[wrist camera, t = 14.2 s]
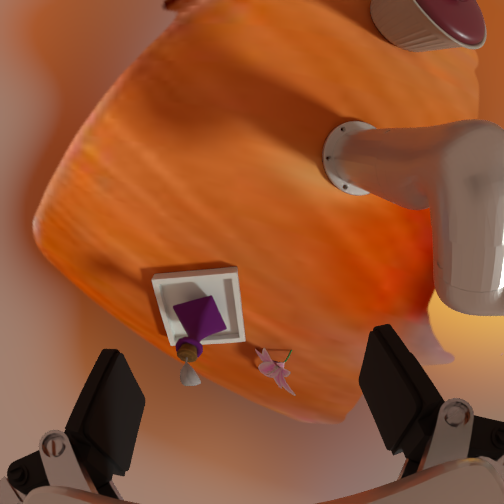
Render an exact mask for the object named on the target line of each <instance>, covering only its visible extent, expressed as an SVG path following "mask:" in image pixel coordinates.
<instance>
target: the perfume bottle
mask: <svg viewBox="0 0 504 504" xmlns="http://www.w3.org/2000/svg"><path fill="white" fill-rule="evenodd" d="M173 309H174V311H175V313H176V315H177V317H178V319H179V321H180V322H181V324H182V326H183V328H184V330H185V331H186V333H187V335H188V337H183V338H180V339H179V340H178V341H177V343H176V351H177V356H178V357H179V358H180V359H181V360H183V361H185V365H184V366H183V368H182V369H181V372H180V380H181V382H182V384H183V385H185V386H193V385H194V386H195V385H198V384H200V383H201V381H200V379H199V377H198V376H197V374H196V372H195V371H194V369H193V368H192V367H191V366H190V365H189V364H188V363H187V362H194V361H196V360H197V357H199V356H200V355H201V353H202V352H203V349H202V344H201V343H200V341H201V340H202V339H204V338H206V337H208V336H210V335H212V334H215V333H218V332H221V331H223V330H226V329H227V327H226V325H225V323H224V321H223V318H222V316H221V314H220V312H219V310H218V307H217V305H216V303H215V301H214V298H213V296H212V295H210V296H206V297H202V298H199V299H195V300H192V301H188V302H184V303H181V304H177V305H174V306H173Z"/></svg>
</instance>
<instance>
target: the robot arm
mask: <svg viewBox="0 0 504 504" xmlns="http://www.w3.org/2000/svg"><path fill="white" fill-rule="evenodd" d="M341 128H342V131H341ZM326 157H328V159H326ZM322 161H323V166H324V169H325V172H326V174H327V176H328V178H329V180H330V181H331V182H332V183H333V184H334V185H335V186H336V187H337V188H338V189H340V190H342V191H343V192H346V193H348V194H351V195H366V194H369V193H372V194H374V195H377V196H379V197H381V198H383V199H386V200H388V201H390V202H392V203H395V204H397V205H399V206H402V207H404V208H407V209H411V210H421V209H426V208H429V207H430V215H431V226H432V237H433V273H434V285H435V289H436V292H437V294H438V296H439V298H440V299H441V300H442V302H443V303H444V304H446V305H447V306H448V307H450V308H451V309H453V310H455V311H458V312H461V313H464V314H469V315H478V316H504V130H503V129H502V128H501V127H500V126H498V125H497V124H495V123H492V122H490V121H486V120H477V119H471V120H461V121H456V122H452V123H447V124H442V125H437V126H431V127H418V128H388V129H376V128H375V127H374V126H372V125H370V124H368V123H365V122H361V121H350V122H345V123H343V124H340V125H339V126H337V127H336V128H334V129H333V130H332V131H331V132H330V134H329V135H328V137H327V138H326V141H325V143H324V146H323V152H322ZM343 185H344V188H343ZM359 385H360V388H361V390H362V392H363V394H364V397H365V399H366V401H367V403H368V406H369V408H370V410H371V413H372V415H373V417H374V419H375V422H376V424H377V427H378V429H379V432H380V434H381V437H382V439H383V441H384V444H385V446H386V448H387V450H391V451H392V454H393V455H396V454H398V453H401V452H403V453H404V455H405V457H406V460H405V463H404V465H403V467H402V470H401V472H400V474H399V477H398V479H397V481H394V482H392V483H389V484H386V485H383V486H380V487H377V488H374V489H371V490H368V491H364V492H361V493H358V494H355V495H351V496H347V497H343V498H339V499H335V500H331V501H327V502H322V503H317V504H504V422H501V421H496V420H492V419H487V418H483V417H479V416H475V415H474V412H473V409H472V407H471V406H470V404H469V403H468V402H466V401H465V400H462V399H460V398H453V399H449V400H447V401H446V402H445V401H444V400H443V398H442V397H441V395H440V394H439V392H438V391H437V389H436V387H435V386H434V384H433V383H432V381H431V380H430V378H429V377H428V375H427V374H426V373H425V371H424V370H423V368H422V366H421V365H420V364H419V362H418V361H417V359H416V358H415V356H414V355H413V354H412V353H410V352H409V350H408V349H407V347H406V346H405V344H404V343H403V342H402V340H401V339H400V337H399V336H398V335H397V333H396V332H395V331H394V329H393V328H392V327H391V325H390V324H385V325H381V326H376V327H374V329H373V331H371V332H370V334H369V338H368V343H367V347H366V351H365V356H364V360H363V364H362V368H361V372H360V376H359ZM144 406H145V397H144V395H143V393H142V391H141V389H140V387H139V385H138V383H137V382H136V380H135V378H134V376H133V374H132V372H131V370H130V368H129V365H128V363H127V361H126V359H125V357H124V355H123V354H122V353H120V352H119V351H118V350H117V349H103V350H102V352H101V354H100V355H99V357H98V359H97V361H96V363H95V365H94V367H93V369H92V371H91V373H90V375H89V377H88V379H87V381H86V383H85V385H84V387H83V389H82V392H81V394H80V396H79V398H78V400H77V402H76V405H75V406H74V409H73V411H72V413H71V416H70V418H69V420H68V422H67V425H66V427H65V429H66V430H65V432H61V431H59V430H51V431H49V432H47V433H45V434H44V436H43V437H42V438H41V440H40V443H39V450H38V451H36V452H34V453H32V454H30V455H28V456H25V457H23V458H21V459H19V460H16V461H15V462H13V463H11V465H10V466H9V468H8V471H7V476H8V478H6V477H3V478H2V479H1V480H0V504H138V503H133V502H128V501H124V499H123V498H122V497H121V495H120V493H119V491H118V490H117V488H116V486H115V485H114V483H113V481H112V476H113V474H115V475H120V476H125V471H128V470H129V467H130V463H131V459H132V455H133V450H134V446H135V442H136V438H137V433H138V429H139V425H140V422H141V418H142V414H143V410H144Z"/></svg>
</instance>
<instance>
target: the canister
mask: <svg viewBox="0 0 504 504" xmlns="http://www.w3.org/2000/svg"><path fill="white" fill-rule="evenodd" d="M370 13H371V17H372V19H373V22H374V23H375V26H376V27H377V28H378V30H379V31H380V32H381V34H382V35H383V36H384V37H385V38H386V39H388V40H389V41H390V42H391V43H393V44H394V45H396V46H398V47H399V48H402V49H404V50H408V51H413V52H424V51H432V50H440V49H447V48H456V47H465V48H468V49H478V48H480V47H482V46H483V45H484V43H485V40H486V26H485V22H484V18H483V15H482V12H481V10H480V8H479V6H478V4H477V2H476V0H372V1H371V6H370Z"/></svg>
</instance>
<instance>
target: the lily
mask: <svg viewBox="0 0 504 504" xmlns="http://www.w3.org/2000/svg"><path fill="white" fill-rule="evenodd" d="M255 351H256V353H257V354H258V356H259V357H260V359H261V360H262V361H263V363H261V364H260V365H259V367H258V369H259V371H260V372H261V373H263V374H264V375H266V376H268V377H271V378H274V380H275V382H276V383H277V384H278V386H279V387H280V388H282V386H283V387H284V388H285V389H286V390H287V391H288V392H289V393H291V394H293V395H294V396H296V395H295V394H294V392H293V391H292V390H291V388H290V387H289V386H288V384H287V382H286V380H285V378H284V376H285V377H287V376H289V375H290V373H291V372H290V371H288V370H286V369H284V363H285V362H286V361H287V359H288V358H289V356H290V354H291V352H292V350H291V351H290V353H289V355H288V357H287V358H286V360H285V361H284V362H283V363H281V362H277V361H273V360H271V358H270V356H269V354H268V353H267V351H266V349H265V348H263V351H262V354H261V353H260V352H258V351H257V350H256V349H255ZM283 374H284V375H283Z"/></svg>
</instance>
